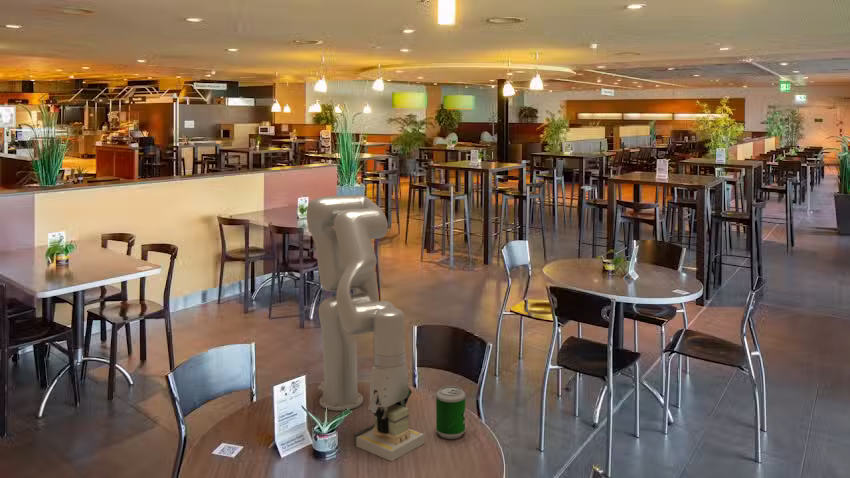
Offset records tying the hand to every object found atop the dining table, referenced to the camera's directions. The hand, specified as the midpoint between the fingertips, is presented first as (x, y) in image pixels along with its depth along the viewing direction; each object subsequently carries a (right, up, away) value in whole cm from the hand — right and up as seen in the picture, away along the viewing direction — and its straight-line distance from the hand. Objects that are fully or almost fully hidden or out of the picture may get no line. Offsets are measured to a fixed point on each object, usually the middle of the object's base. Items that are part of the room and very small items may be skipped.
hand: (390, 427), depth 168 cm
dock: (0, -5, +1) cm, 5 cm away
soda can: (+15, -4, +7) cm, 17 cm away
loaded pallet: (0, -2, 0) cm, 2 cm away
